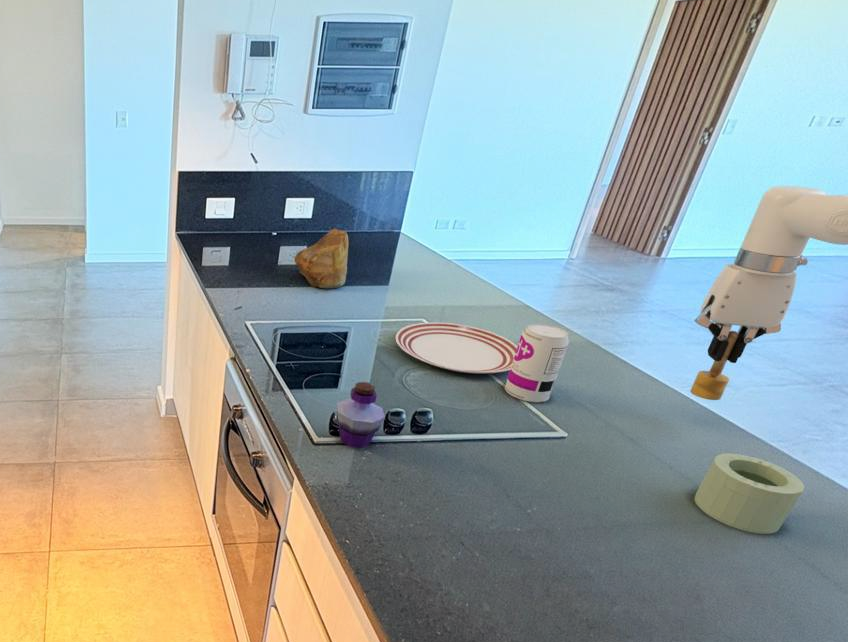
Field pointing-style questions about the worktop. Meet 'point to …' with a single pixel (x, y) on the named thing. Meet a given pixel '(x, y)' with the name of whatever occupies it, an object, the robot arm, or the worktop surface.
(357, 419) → the potion bottle
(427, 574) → the worktop surface
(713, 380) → the peg with round base
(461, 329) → the dinner plate
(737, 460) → the pale green hollow cylinder
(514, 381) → the supplement can
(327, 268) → the rough brown rock
